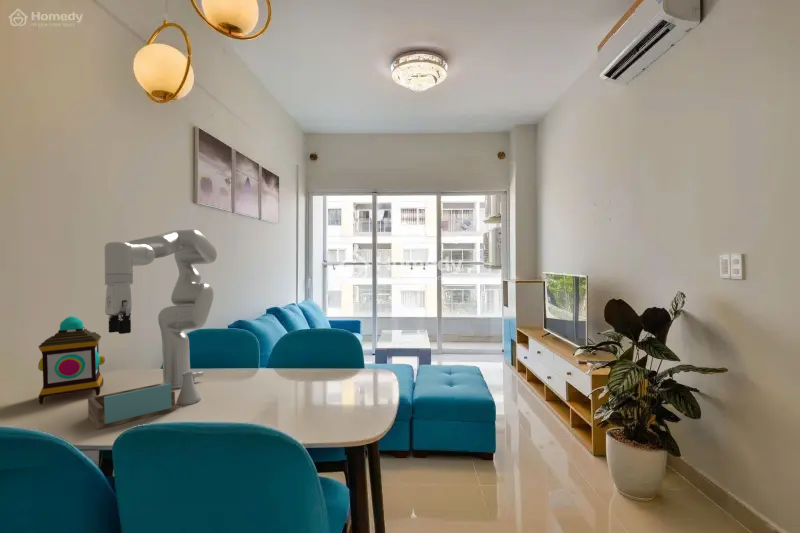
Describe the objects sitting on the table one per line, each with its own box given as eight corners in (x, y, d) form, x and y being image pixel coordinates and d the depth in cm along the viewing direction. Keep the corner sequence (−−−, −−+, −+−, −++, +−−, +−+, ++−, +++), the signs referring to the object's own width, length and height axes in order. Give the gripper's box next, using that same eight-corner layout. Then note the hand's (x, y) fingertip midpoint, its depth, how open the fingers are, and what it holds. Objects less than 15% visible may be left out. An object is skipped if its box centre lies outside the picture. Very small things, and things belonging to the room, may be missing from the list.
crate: (160, 400, 141) (159, 383, 141) (175, 410, 130) (174, 391, 130) (88, 417, 127) (87, 398, 127) (98, 429, 116) (98, 408, 116)
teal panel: (170, 407, 129) (169, 383, 129) (171, 407, 128) (170, 383, 128) (104, 423, 116) (104, 396, 116) (105, 423, 116) (104, 397, 116)
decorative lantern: (103, 395, 151) (101, 315, 151) (33, 407, 140) (30, 320, 140) (107, 384, 168) (105, 312, 168) (44, 394, 157) (42, 316, 157)
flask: (190, 405, 134) (189, 375, 134) (171, 405, 136) (170, 375, 136) (205, 399, 141) (204, 370, 141) (187, 398, 143) (186, 370, 143)
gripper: (97, 281, 135) (97, 333, 134) (114, 279, 124) (114, 335, 123) (123, 280, 140) (123, 330, 140) (141, 278, 130) (142, 332, 129)
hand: (119, 332), depth 131 cm, fingers open, 9 cm apart
